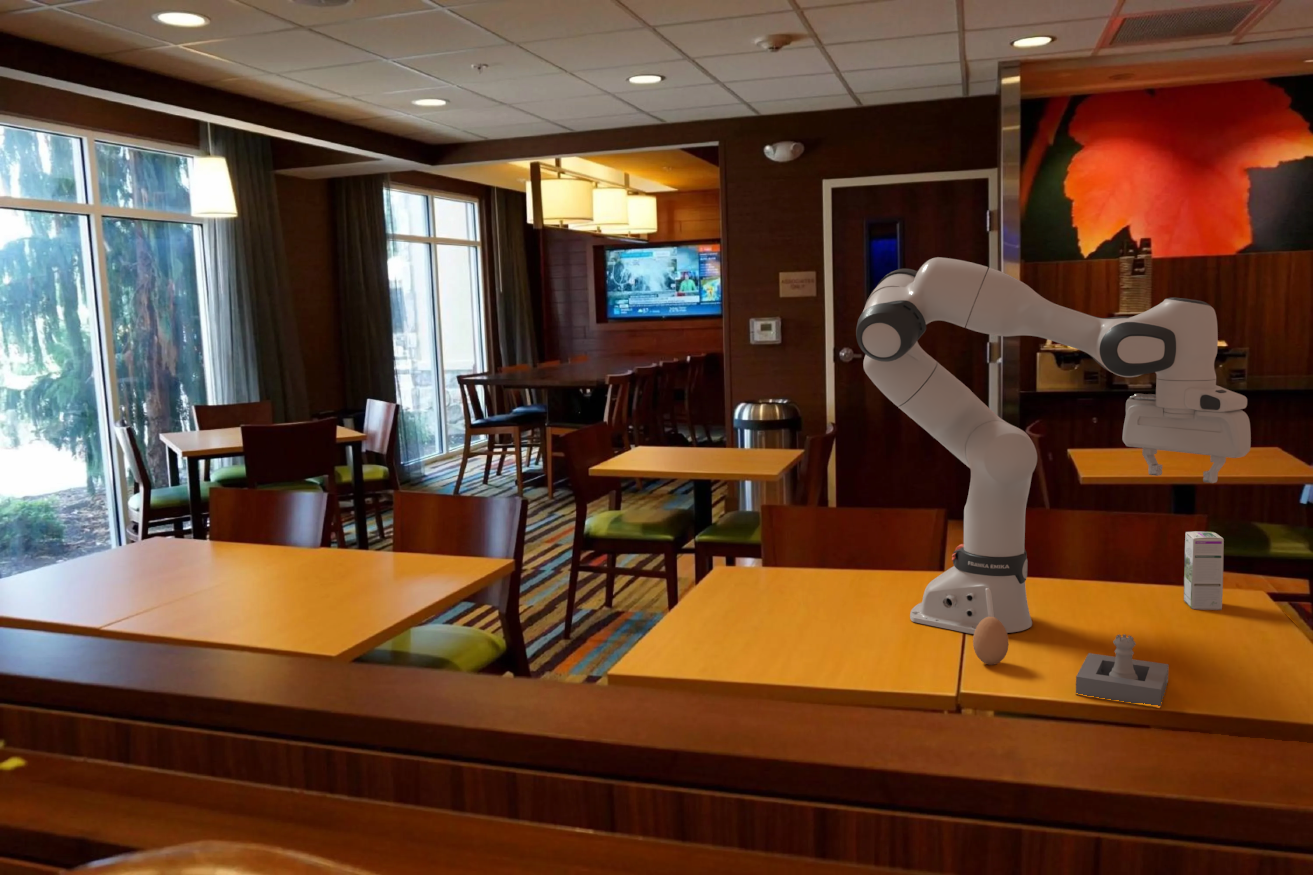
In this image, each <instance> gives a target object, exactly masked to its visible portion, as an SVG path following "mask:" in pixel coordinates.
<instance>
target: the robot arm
mask: <svg viewBox="0 0 1313 875" xmlns="http://www.w3.org/2000/svg"><path fill="white" fill-rule="evenodd" d="M937 321H940V322H941V321H942V322H947V323H950V324H953V325H955V326H959V327H962V328H965V329H968V330H971V331H973V332H978V333H981V334H986V335H992V336H998V337H1016V336H1030V337H1031V336H1032V337H1038V338H1041V339H1045V340H1049V341H1052V342H1055V343H1057V344H1062V345H1064V346H1068V347H1069V348H1073V349H1077V351H1078V350H1079V351H1080V352H1083V353H1086V354H1087V355H1089V356H1090V357H1091V358H1092V359H1093V360H1094V361H1095V362H1096V363H1097V364H1098V365H1099V366H1100V367H1102V368H1103V369H1104V370H1106V371H1108V372H1110V373H1113V374H1114V375H1116V376H1120V377H1122V378H1136V377H1139V376H1142V375H1149V374H1153V373H1155V374H1156V382H1155V383H1156V384H1155V385H1156V387H1155V394H1152V393H1148V394H1146V393H1145V394H1144V393H1134V395H1131V396H1129V397H1128V398H1127V400H1126V402H1125V416H1124V417H1125V418H1124V423H1123V429H1122V439H1121V440H1122V442H1123V443H1124V444H1125V447H1129V448H1138V449H1139V448H1140V449H1142V452H1141V453H1142V457H1143V458H1144V460H1145V461H1146V464H1147V465H1148V469H1147V470H1148V475H1150V476H1157V477H1159V476H1162V474H1163V464H1159V463H1158V460H1157V458H1156V456H1155V455H1157V453H1158V451H1164V452H1165V451H1168V452H1174V453H1175V452H1177V453H1185V454H1194V455H1204V456H1210V458H1209V460H1210V463H1212V465H1211V467H1210V468H1209V470H1205V471H1203V472H1202V474H1203V475H1202V476H1203V478H1202V481H1203V483H1209V484H1214V483H1217V482H1218V477H1219V472H1220V471H1221V469H1222V468H1223V466H1224V465H1225V463H1226V461H1227V458H1231V459H1238V458H1242V457H1246V455H1247V454H1248V453H1249V452H1251V444H1252V443H1251V442H1252V440H1251V439H1252V437H1251V434H1252V433H1251V422H1250V418H1249V416H1248V414H1247V413H1246V412H1245V411H1243V409H1246V408H1247V406H1248V398H1247V397H1246V396H1245V395H1243V394H1241V393H1238V392H1235V391H1232V390H1229V389H1227V388H1225V387H1222V386H1219V385H1217V374H1216V369H1215V361H1216V357H1217V354H1218V347H1219V346H1218V342H1219V340H1218V339H1219V338H1218V335H1219V334H1218V333H1219V332H1218V331H1219V330H1218V319H1217V314H1216V310H1215V309H1214V307H1212V306H1211V304H1209V303H1207V302H1205V301H1202V300H1197V299H1190V298H1183V297H1181V298H1180V297H1168V298H1165V299H1164V300H1163V301H1162V302H1160V303H1159V304H1157V305H1155V306H1153V307H1152V308H1148V310H1146V311H1142V312H1141V313H1139V314H1136V315H1134V316H1113V317H1099V316H1094V315H1091V314H1087V313H1084V312H1082V311H1078V310H1075V309H1072V308H1068V307H1065V306H1062V305H1059V304H1056V303H1054V302H1052V301H1050V300H1048V299H1046V298H1044V297H1043V296H1041V294H1039V293H1038V292H1036V291H1035V290H1034V289H1033V288H1031V287H1030V286H1029V285H1028V284H1026V283H1024V282H1023V281H1021V280H1020V279H1018V278H1015V277H1014V276H1011V275H1010V274H1008V273H1005V272H1003V271H1000V270H998V269H995V268H993V267H988V266H986V265H982V264H979V263H975V262H970V261H967V260H962V259H956V258H951V257H949V258H948V257H939V256H937V257H933V258H930V259H928V260H926V261H925V262H924V263H923V264H922V265H921V266H920V267H919V269H918V270H915V269H911V268H899V269H896V270H893V271H890V272H889V273H887V274H886V275H885V276H884V277H883V278H881V279H880V281H879V282H878V283H877V285H876V287H875V288H874V289H873V290H872V291H871V293H870V295H869V297H868V298H867V300H866V301H865V305H864V309H863V311H862V312H861V314H860V316H859V318H858V319H857V324H856V329H855V336H856V342H857V344H858V347H859V348H860V350H861V351H862V352H863V353H864V359H863V363H862V364H863V371H864V372H865V373H864V374H866V375H867V377H868V378H869V379H870V380H871V382H872V383H873V385H874V386H876V388H877V389H878V390H879V391H880V392H881V393H882V394H883V395H884V396H885V397H886V398H887V399H888V400H889V401H890V402H892V403H893V405H895V406H896V407H898V409H900V410H901V411H902V412H903V413H905V414H906V415H907V417H909V418H910V419H912V420H913V421H914V422H915V423H916V424H917V425H918V426H920V427H921V428H922V429H923V430H925V431H926V432H927V433H928V434H929V435H930V436H931V437H932V438H933V439H935V440H936V441H938V442H939V443H940V445H942V446H943V447H944V448H945V449H946V450H948V451H949V453H951V454H952V455H953V456H954V457H955V458H957V459H958V460H959V461H960V462H961V463H963V464H964V465H966V467H967V468H969V469H970V482H969V489H968V495H967V499H966V503H965V505H964V509H963V543H960V544H959V545H958V546H956V547H955V550H954V551H953V552H952V554H951V561H952V564H953V566H952V567H949V568H948V569H947V570H945V571H944V572H942V573H941V574H940V575H937V577H935V578H934V579H932V580H931V581H930V582H929V583H928V584H927V585H926V587H925V589H924V592H923V596H922V601H921V602H919V603H918V604H916V605H915V606H913V608H911V610H910V614H909V618H910V620H911V622H913V623H918V624H922V625H926V626H932V627H936V628H941V629H947V630H952V631H956V632H960V633H966V634H971V635H974V632H975V630H976V627H977V626H978V624H979V623H980V621H981V620H983V619H984V618H986V617H995V618H997V619H998V620H999V621H1000V622H1001V623H1002V624H1003V626H1004V627H1005V630H1006V632H1007V634H1008V633H1016V632H1022V631H1025V630H1027V629H1029V628H1031V627H1032V626H1033V621H1032V618H1031V613H1030V610H1029V609H1030V608H1029V605H1028V599H1027V589H1026V581H1027V577H1028V558H1027V556H1028V555H1027V551H1026V549H1025V540H1026V538H1025V537H1026V536H1025V533H1026V508H1027V504H1028V498H1029V494H1030V488H1031V484H1032V483H1031V482H1032V478H1033V473H1034V472H1035V469H1036V466H1037V463H1038V453H1037V449H1036V446H1035V444H1034V442H1033V440H1032V439H1031V438H1030V436H1029V435H1028V434H1027V432H1025V431H1024V430H1023V429H1021V428H1019V427H1017V426H1015V425H1013V424H1011V423H1009V422H1007V421H1006V420H1004V419H1002V417H1000V416H999V415H998V414H996V413H995V412H994V411H993V410H992V409H991V408H990V407H988V406H987V405H986V403H984V402H983V401H982V400H981V399H980V398H979V397H978V396H977V395H976V394H975V393H974V392H972V390H971V389H970V388H969V387H968V386H966V385H965V383H963V381H961V380H959V379H958V378H957V377H956V376H955V375H954V374H952V373H951V372H950V371H949V370H947V369H946V368H945V367H944V366H943V365H941V363H940V362H938V361H937V360H936V359H934V358H933V357H932V356H931V355H929V354H928V353H927V352H926V351H925V350H924V349H923V348H922V347H921V346H920V344H919V342H918V341H919V339H920V338H921V337H922V336H923V335H924V334H925V332H926V330H927V325H928V324H930V323H931V322H937Z"/></svg>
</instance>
